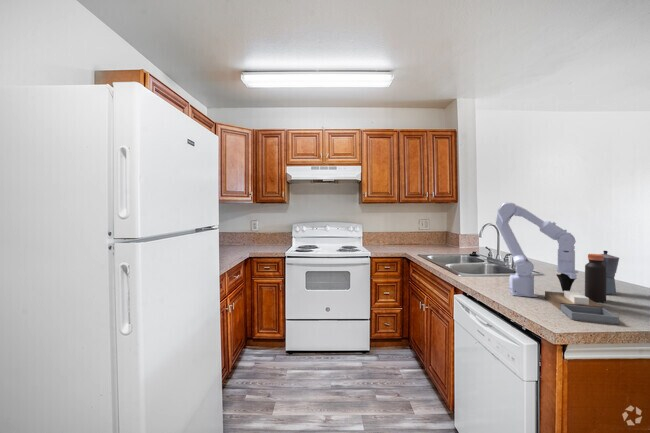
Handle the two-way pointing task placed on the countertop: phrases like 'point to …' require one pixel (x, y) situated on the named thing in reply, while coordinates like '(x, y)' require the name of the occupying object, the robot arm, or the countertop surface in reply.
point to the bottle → (595, 278)
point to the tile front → (579, 299)
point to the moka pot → (610, 272)
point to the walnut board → (565, 300)
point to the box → (589, 314)
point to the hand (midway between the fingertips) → (565, 291)
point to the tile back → (566, 293)
